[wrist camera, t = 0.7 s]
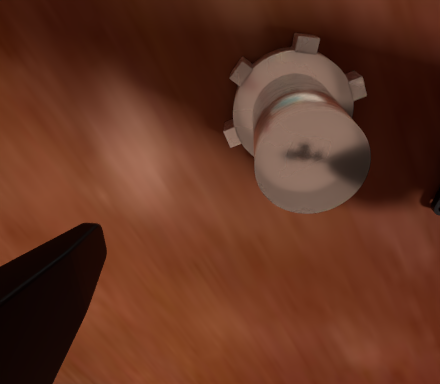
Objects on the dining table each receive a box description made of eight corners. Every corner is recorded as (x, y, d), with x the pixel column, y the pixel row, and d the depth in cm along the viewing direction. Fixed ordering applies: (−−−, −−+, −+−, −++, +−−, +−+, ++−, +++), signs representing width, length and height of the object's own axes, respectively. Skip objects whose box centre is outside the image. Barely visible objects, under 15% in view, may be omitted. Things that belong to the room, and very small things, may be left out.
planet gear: (372, 42, 16) (453, 72, 10) (332, 172, 20) (371, 255, 14) (236, 25, 16) (229, 44, 10) (220, 158, 20) (207, 234, 14)
